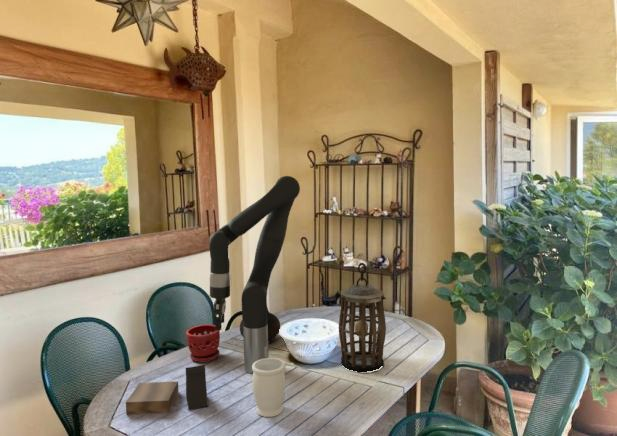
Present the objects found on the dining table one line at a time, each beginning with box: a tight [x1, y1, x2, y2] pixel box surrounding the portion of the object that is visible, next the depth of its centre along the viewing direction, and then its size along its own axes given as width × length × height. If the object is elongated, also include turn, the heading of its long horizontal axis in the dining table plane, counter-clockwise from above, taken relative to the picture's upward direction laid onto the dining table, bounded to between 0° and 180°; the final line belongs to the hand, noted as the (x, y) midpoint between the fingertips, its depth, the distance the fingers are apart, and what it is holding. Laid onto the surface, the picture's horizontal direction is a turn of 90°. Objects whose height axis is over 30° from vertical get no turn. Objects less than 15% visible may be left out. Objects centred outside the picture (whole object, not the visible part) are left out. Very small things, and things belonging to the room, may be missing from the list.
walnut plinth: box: [125, 381, 180, 415], centre depth 146 cm, size 13×13×4 cm
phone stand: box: [185, 364, 209, 411], centre depth 145 cm, size 9×6×12 cm, turn 20°
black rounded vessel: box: [239, 307, 281, 344], centre depth 198 cm, size 18×18×28 cm
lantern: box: [338, 262, 387, 372], centre depth 172 cm, size 19×19×40 cm
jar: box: [251, 357, 286, 418], centre depth 140 cm, size 11×10×15 cm
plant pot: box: [185, 324, 221, 363], centre depth 181 cm, size 13×13×12 cm
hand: (219, 326), depth 168 cm, fingers open, 8 cm apart
